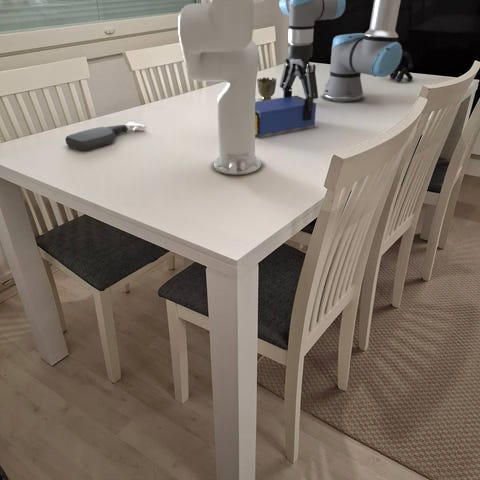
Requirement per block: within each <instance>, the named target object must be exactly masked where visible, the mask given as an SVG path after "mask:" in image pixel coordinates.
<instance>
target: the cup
mask: <svg viewBox="0 0 480 480" xmlns="http://www.w3.org/2000/svg"><path fill="white" fill-rule="evenodd" d="M256 84H257V91H258V95H259V96H260V97H261V101H265V100H271V99H272V97H273V96H274V95H275V92H276V89H277V88H276V87H277V78H276V77H275V78H274V77H272V78H271V79H270V77H262V78H261V77H259V78H256Z"/></svg>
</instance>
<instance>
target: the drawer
mask: <svg viewBox="0 0 480 480" xmlns="http://www.w3.org/2000/svg"><path fill="white" fill-rule="evenodd" d="M259 118H260V115H259V114H257V113H255V136H257V131H259Z"/></svg>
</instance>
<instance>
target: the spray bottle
mask: <svg viewBox="0 0 480 480" xmlns="http://www.w3.org/2000/svg"><path fill="white" fill-rule="evenodd" d="M142 129H143V130H145V129H147V126H146V125H144V124H141V123H137V122H133V121H128V123H125V124H118V125H111V126H99V127H93V128H90V129H85V130H81V131H78V132H75V133H72V134H68V135H67V136H66V137H65V139H64V140H65V143H66V145H67V146H68V147H70V148H73V149H75V150H78V151H81V152H86V151H90V150H94V149H98V148H100V147H104V146H107V145H109V144H112V143H114V140H115V138H116V136H117V135H119V134H122V133H123V134H124V133H127V132H128V131H132V132H134V131H136V130H142Z"/></svg>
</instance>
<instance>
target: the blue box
mask: <svg viewBox="0 0 480 480" xmlns="http://www.w3.org/2000/svg"><path fill="white" fill-rule="evenodd" d="M304 99H305V98H304V97H301V96H299V95H292V96H290V97H284V98H283V97H278V98H273V99H272V98H271V100H265V101H263V100H260V101H255V113H257V114H259V115H260V118H259V131H257V135H256V136H257V137H259V138H266V137H273V136H277V135H278V136H279V135H281V134H282V135H283V134H288V133H292V132H297V131H302V130H303V131H304V130H308V129H313V128H315V127H316V112H317V103H316V102H314V101H313V109H312V116H311V120H306V121H304V120H303V111H304Z"/></svg>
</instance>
